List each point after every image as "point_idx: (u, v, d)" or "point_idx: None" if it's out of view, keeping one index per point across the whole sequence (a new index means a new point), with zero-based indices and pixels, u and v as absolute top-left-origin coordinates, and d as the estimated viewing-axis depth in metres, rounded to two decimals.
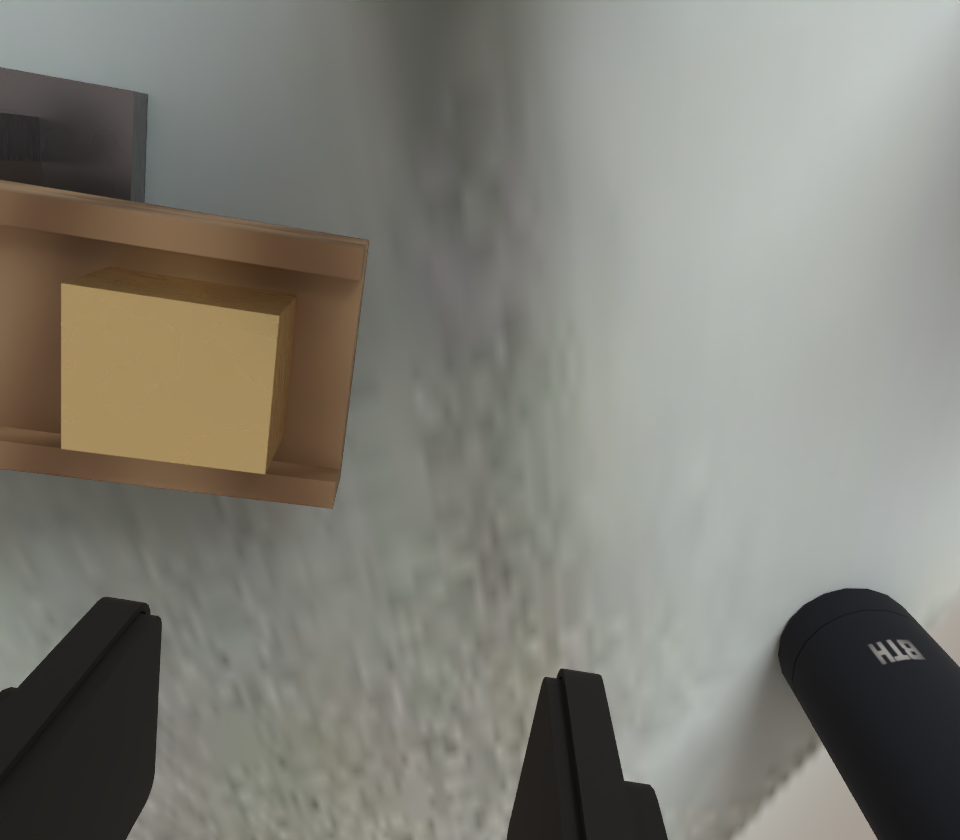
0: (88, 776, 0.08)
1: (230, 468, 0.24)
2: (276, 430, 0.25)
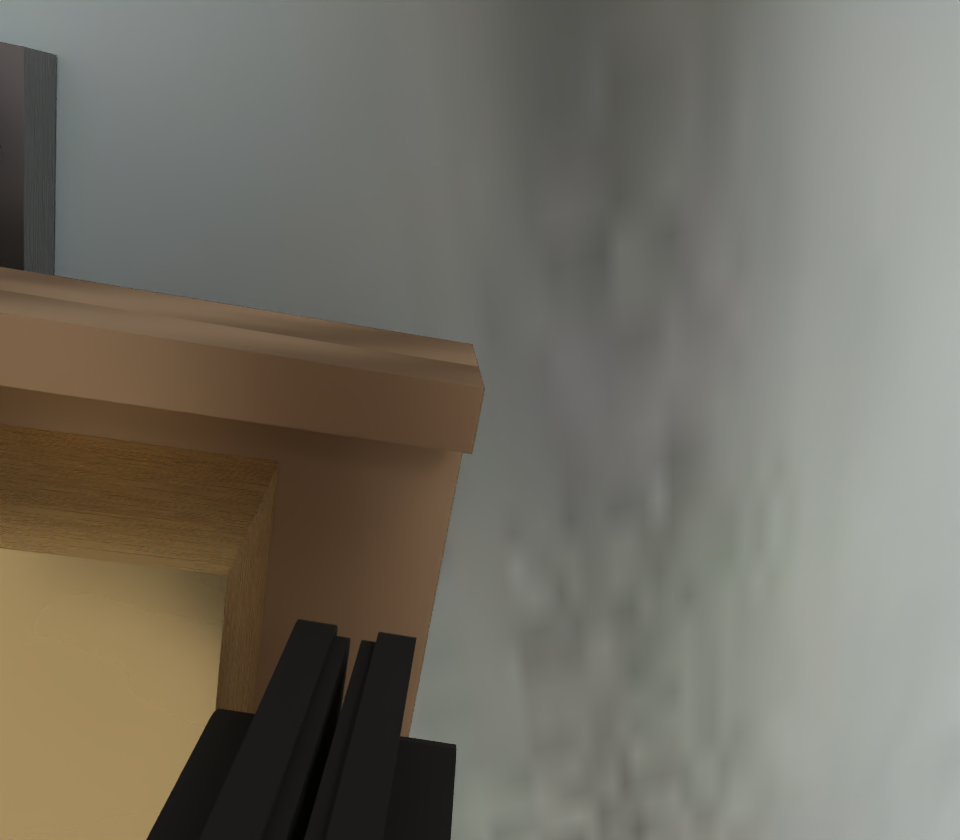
0: (312, 796, 0.09)
1: None
2: None
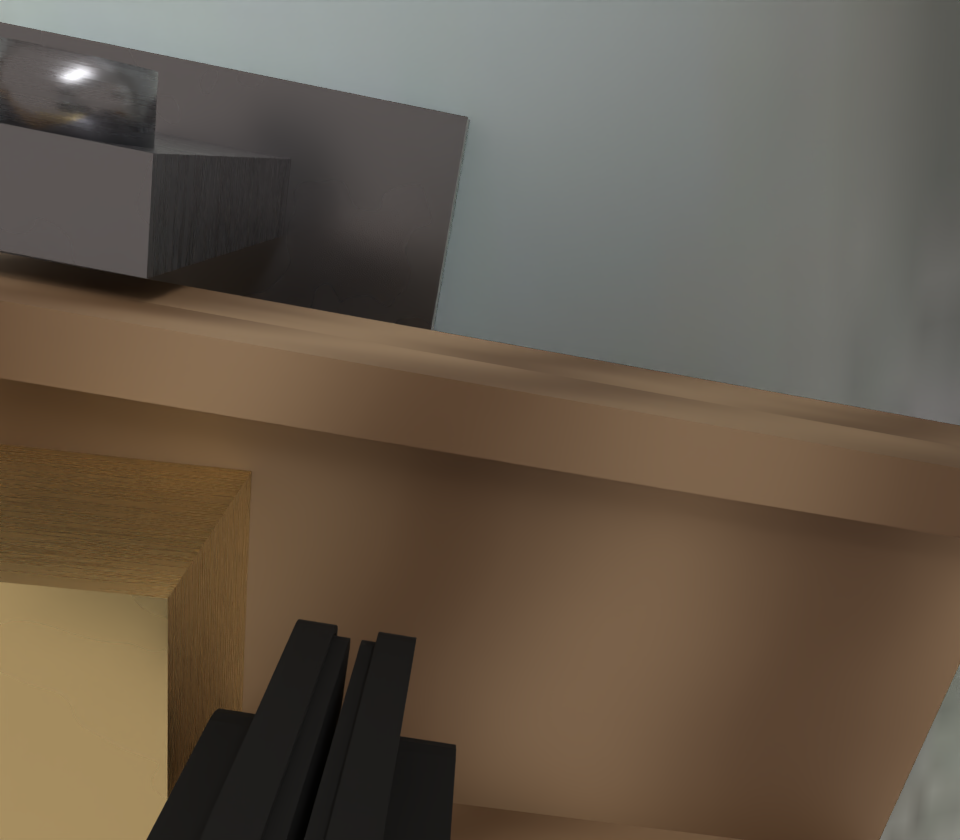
0: (312, 797, 0.09)
1: None
2: None
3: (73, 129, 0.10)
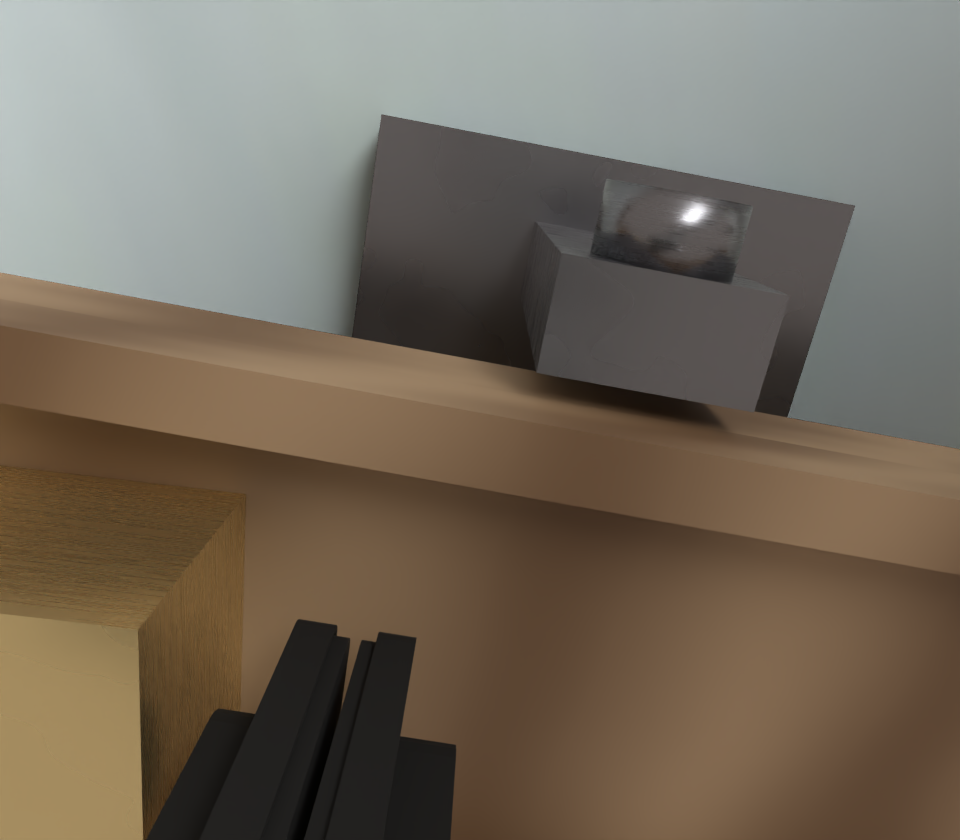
0: (312, 797, 0.09)
1: None
2: None
3: (710, 273, 0.10)
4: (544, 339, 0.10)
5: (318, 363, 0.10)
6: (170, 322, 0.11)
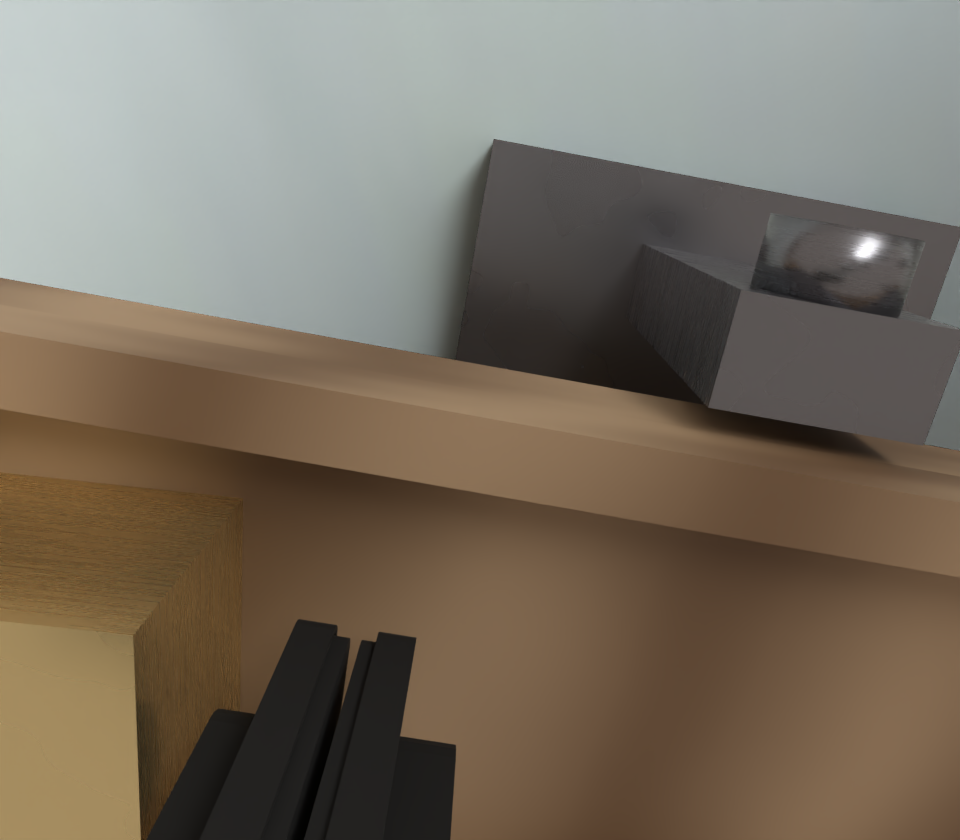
0: (312, 797, 0.09)
1: None
2: None
3: (887, 308, 0.10)
4: (719, 374, 0.10)
5: (491, 398, 0.10)
6: (333, 356, 0.11)
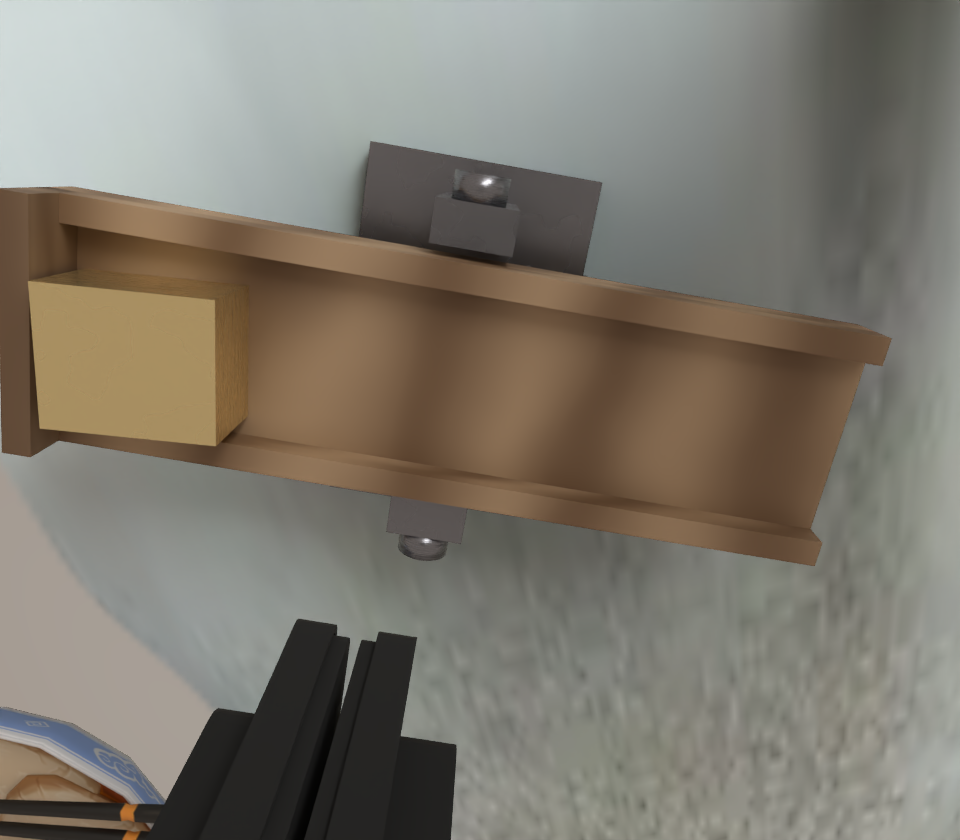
0: (312, 797, 0.09)
1: (185, 441, 0.26)
2: (230, 408, 0.27)
3: (491, 203, 0.27)
4: (431, 229, 0.27)
5: (346, 240, 0.27)
6: (287, 227, 0.28)
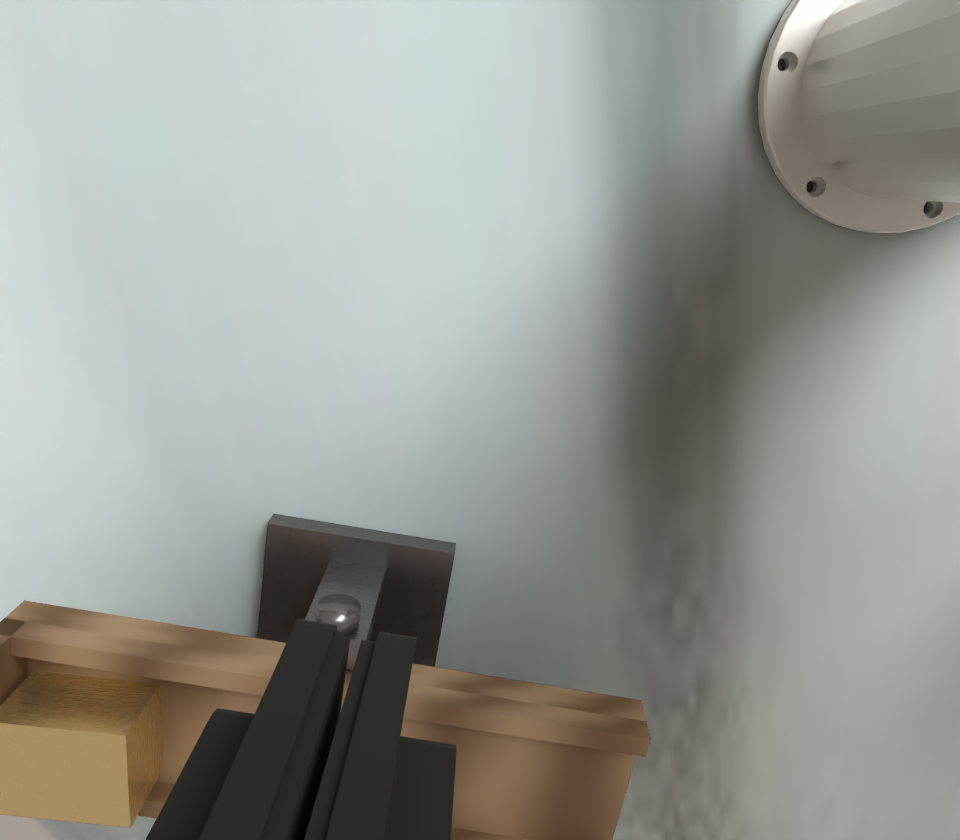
0: (312, 797, 0.09)
1: (107, 824, 0.34)
2: (145, 785, 0.35)
3: (343, 635, 0.35)
4: None
5: (232, 659, 0.35)
6: (189, 641, 0.36)
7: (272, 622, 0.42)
